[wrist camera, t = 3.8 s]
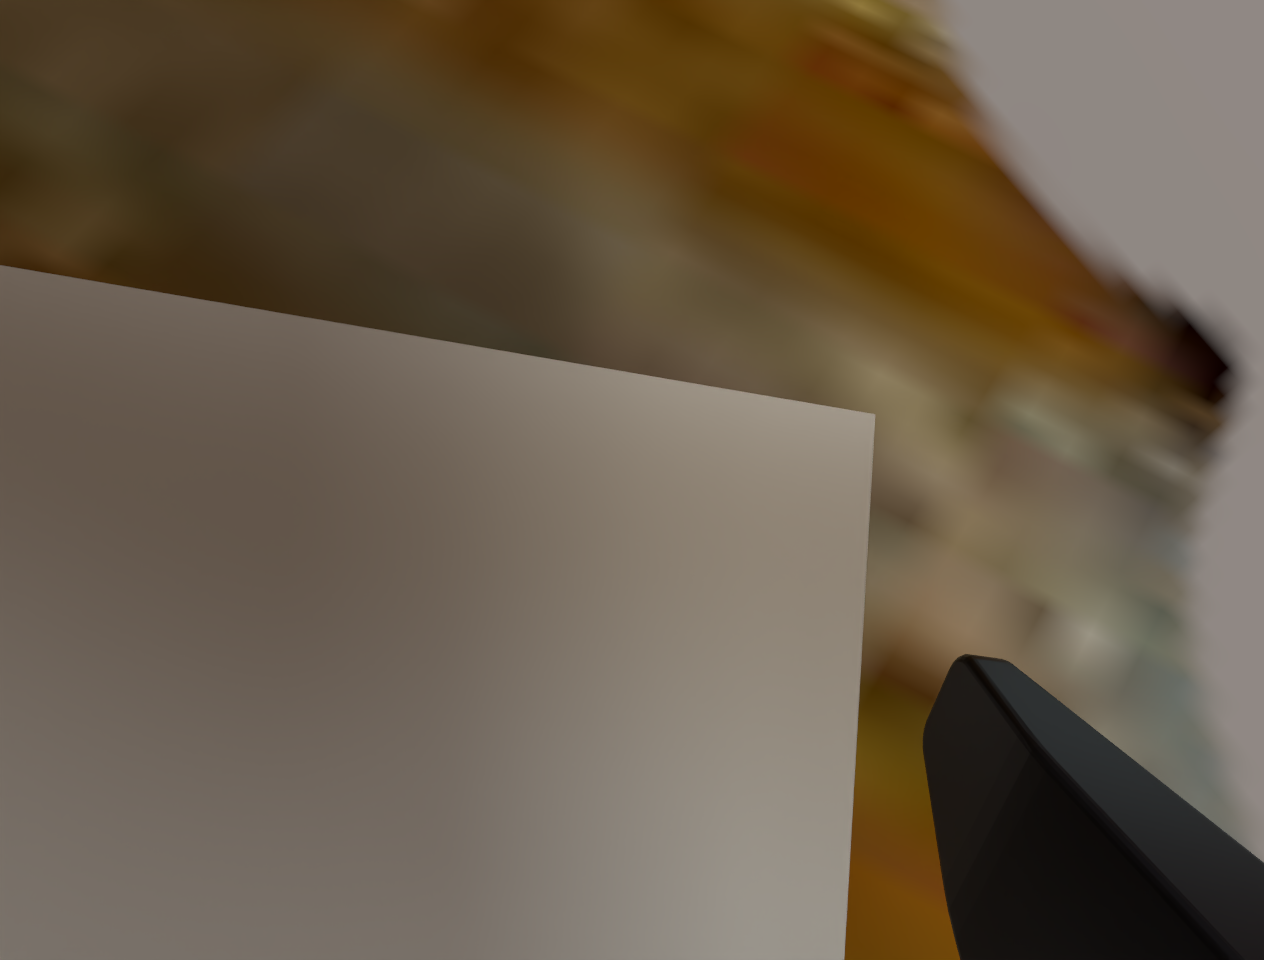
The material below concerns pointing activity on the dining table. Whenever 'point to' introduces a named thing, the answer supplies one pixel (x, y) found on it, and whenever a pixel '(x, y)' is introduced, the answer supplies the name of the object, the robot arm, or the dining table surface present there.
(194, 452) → the cream block
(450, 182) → the dining table surface
